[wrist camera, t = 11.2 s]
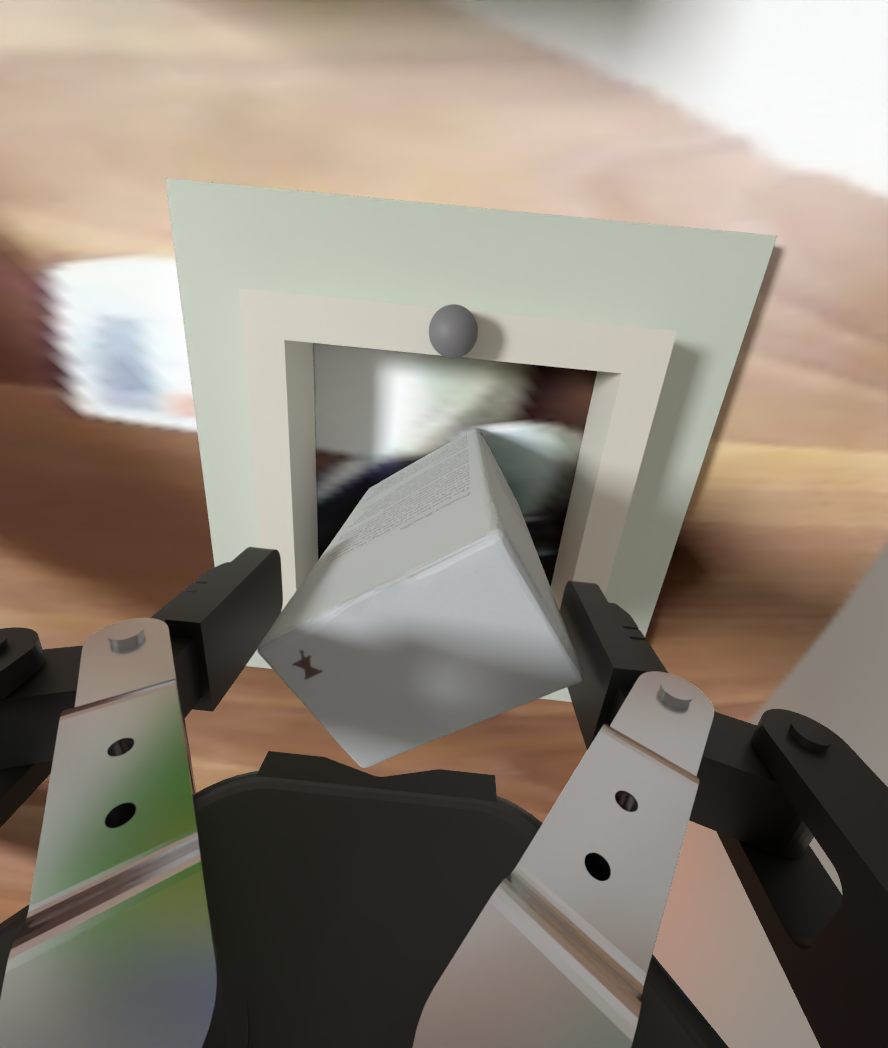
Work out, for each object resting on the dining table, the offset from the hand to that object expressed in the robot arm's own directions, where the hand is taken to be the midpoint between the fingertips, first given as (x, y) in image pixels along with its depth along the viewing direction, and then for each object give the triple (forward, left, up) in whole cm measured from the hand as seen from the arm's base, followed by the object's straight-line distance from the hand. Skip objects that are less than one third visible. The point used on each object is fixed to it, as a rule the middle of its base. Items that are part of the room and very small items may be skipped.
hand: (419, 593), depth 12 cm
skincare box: (0, 0, -9) cm, 9 cm away
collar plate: (0, 0, -9) cm, 9 cm away
